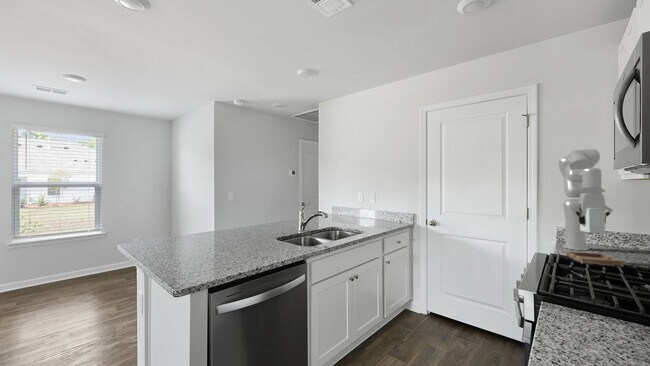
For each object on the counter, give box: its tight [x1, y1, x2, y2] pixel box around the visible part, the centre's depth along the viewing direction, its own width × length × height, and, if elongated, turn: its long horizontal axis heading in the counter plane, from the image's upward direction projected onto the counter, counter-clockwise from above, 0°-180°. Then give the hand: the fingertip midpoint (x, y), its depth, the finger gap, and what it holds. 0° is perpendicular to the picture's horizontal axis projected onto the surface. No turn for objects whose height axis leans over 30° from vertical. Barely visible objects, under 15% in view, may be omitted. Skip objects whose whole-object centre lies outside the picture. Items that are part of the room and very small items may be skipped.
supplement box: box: [580, 208, 606, 234], centre depth 150 cm, size 7×7×13 cm
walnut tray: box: [565, 251, 625, 268], centre depth 149 cm, size 18×16×2 cm
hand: (592, 224), depth 150 cm, fingers closed on supplement box, 8 cm apart
